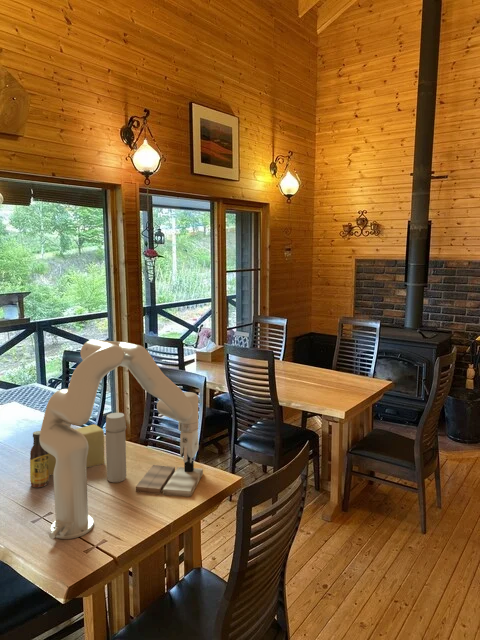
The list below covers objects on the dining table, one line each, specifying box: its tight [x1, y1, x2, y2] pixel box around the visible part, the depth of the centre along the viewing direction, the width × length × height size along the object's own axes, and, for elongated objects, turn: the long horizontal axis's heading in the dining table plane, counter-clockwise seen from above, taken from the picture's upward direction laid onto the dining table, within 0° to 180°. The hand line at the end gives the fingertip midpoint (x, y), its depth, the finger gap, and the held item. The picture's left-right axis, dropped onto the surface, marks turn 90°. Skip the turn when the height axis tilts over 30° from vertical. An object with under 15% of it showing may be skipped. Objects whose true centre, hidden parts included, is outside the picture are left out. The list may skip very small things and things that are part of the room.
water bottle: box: [104, 412, 127, 483], centre depth 180 cm, size 9×8×25 cm
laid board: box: [135, 464, 176, 495], centre depth 179 cm, size 18×9×2 cm, turn 170°
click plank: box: [162, 466, 204, 497], centre depth 177 cm, size 18×10×2 cm, turn 170°
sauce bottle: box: [29, 430, 50, 489], centre depth 174 cm, size 6×6×20 cm
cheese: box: [48, 423, 105, 477], centre depth 189 cm, size 22×10×15 cm, turn 130°
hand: (189, 471), depth 183 cm, fingers closed
